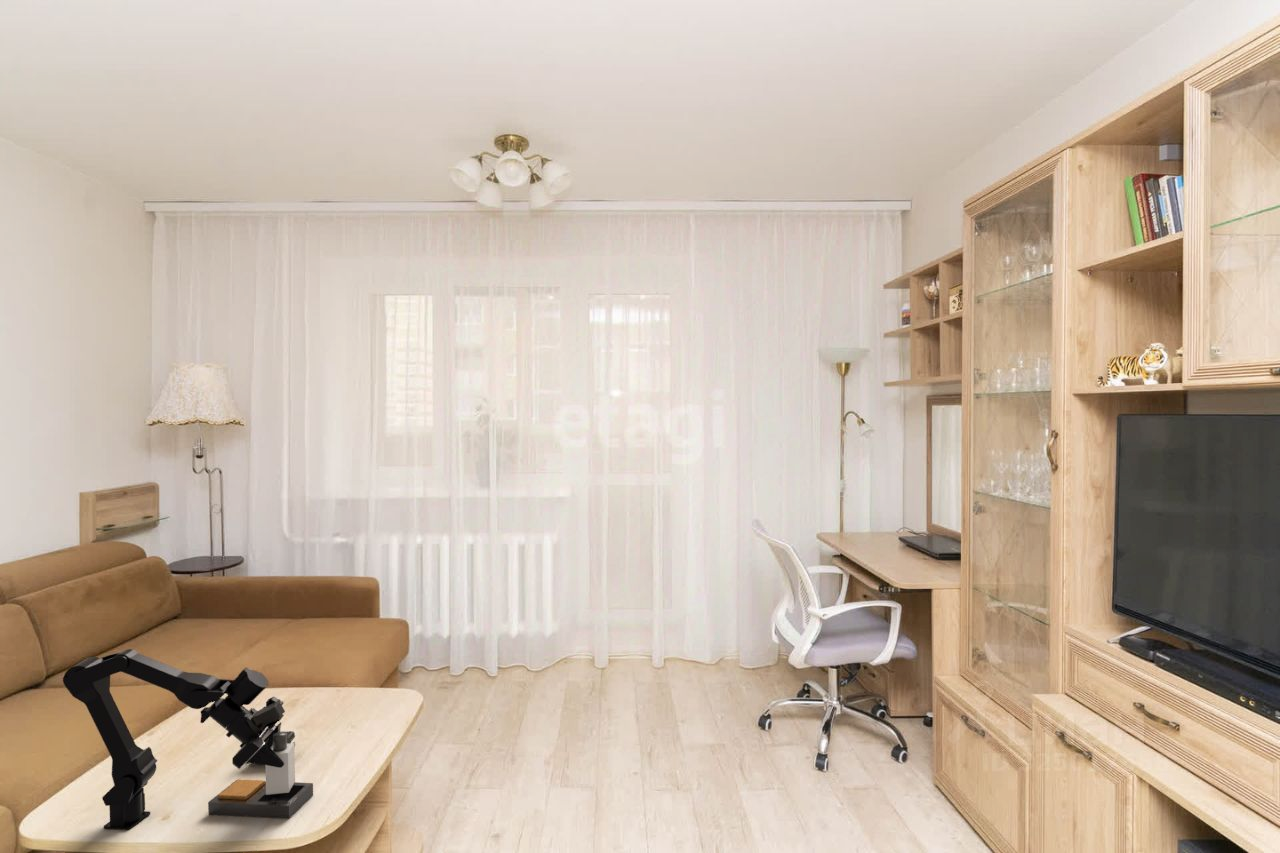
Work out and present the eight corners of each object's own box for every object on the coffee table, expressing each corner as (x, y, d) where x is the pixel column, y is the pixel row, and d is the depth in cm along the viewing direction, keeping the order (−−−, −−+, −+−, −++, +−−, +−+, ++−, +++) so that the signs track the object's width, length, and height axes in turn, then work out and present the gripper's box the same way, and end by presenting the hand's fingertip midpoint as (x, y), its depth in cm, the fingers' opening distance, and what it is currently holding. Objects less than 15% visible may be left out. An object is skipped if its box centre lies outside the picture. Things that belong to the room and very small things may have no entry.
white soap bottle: (265, 794, 166) (265, 740, 166) (272, 783, 171) (272, 730, 171) (288, 792, 167) (287, 738, 167) (295, 781, 172) (294, 728, 172)
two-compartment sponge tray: (289, 818, 164) (288, 801, 164) (208, 814, 166) (208, 798, 166) (313, 795, 174) (312, 779, 174) (236, 791, 176) (236, 775, 176)
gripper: (246, 709, 159) (300, 753, 161) (274, 678, 177) (321, 718, 179) (208, 746, 157) (263, 790, 160) (240, 711, 176) (288, 751, 178)
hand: (286, 760), depth 169 cm, fingers closed on white soap bottle, 5 cm apart
